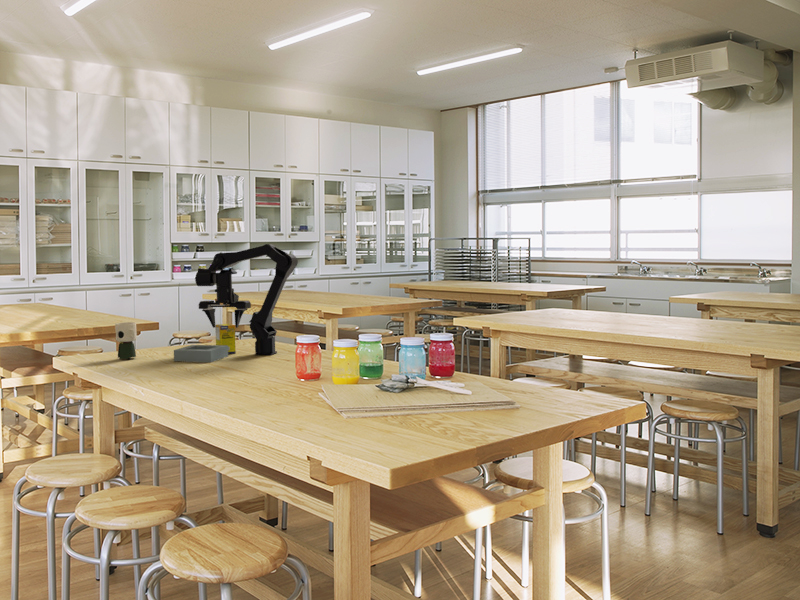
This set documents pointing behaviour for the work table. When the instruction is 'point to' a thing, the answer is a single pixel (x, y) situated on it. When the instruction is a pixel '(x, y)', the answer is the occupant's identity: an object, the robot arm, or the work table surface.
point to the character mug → (126, 339)
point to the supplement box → (226, 336)
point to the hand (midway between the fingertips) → (225, 327)
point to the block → (201, 353)
